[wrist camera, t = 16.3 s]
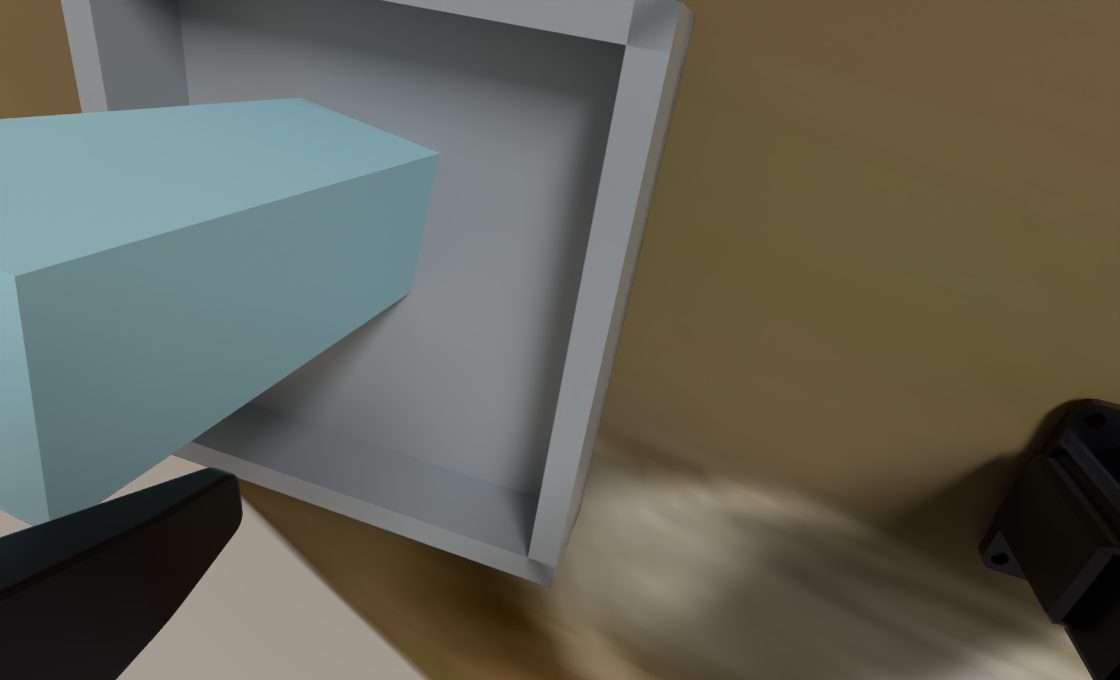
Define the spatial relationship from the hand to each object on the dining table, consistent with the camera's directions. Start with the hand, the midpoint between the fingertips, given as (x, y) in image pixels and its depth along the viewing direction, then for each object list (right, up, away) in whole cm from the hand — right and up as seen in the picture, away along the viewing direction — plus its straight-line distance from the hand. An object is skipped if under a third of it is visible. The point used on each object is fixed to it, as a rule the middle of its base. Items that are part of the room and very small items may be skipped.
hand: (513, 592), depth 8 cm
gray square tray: (-5, +7, +13) cm, 16 cm away
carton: (-6, +8, +12) cm, 16 cm away
